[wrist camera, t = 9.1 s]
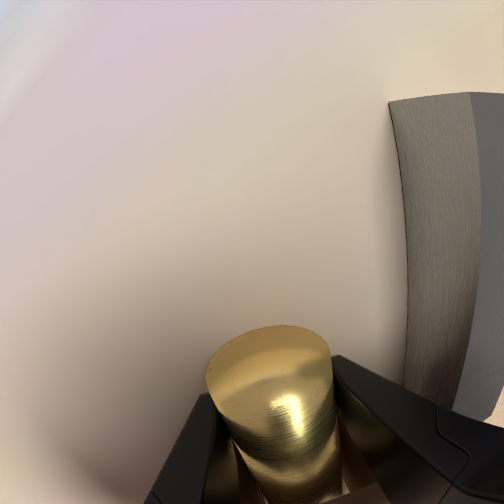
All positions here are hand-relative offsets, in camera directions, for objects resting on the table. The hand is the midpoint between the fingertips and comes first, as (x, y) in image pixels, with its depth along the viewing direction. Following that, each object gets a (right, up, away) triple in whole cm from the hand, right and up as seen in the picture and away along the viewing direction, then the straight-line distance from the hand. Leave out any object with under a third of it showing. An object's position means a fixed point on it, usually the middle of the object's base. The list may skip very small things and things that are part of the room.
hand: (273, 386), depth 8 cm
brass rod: (+1, -4, +2) cm, 4 cm away
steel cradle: (+8, +4, +1) cm, 9 cm away
